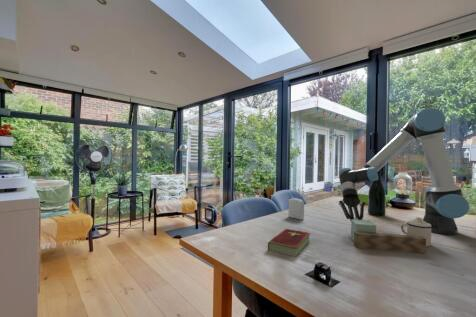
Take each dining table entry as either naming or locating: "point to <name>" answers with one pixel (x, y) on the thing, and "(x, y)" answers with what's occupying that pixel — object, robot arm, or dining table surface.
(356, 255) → the dining table surface
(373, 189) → the dark green wine bottle
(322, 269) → the black tape dispenser
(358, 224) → the sage block
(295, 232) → the hardcover book
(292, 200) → the grey arched block
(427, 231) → the teacup with lid
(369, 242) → the walnut board
